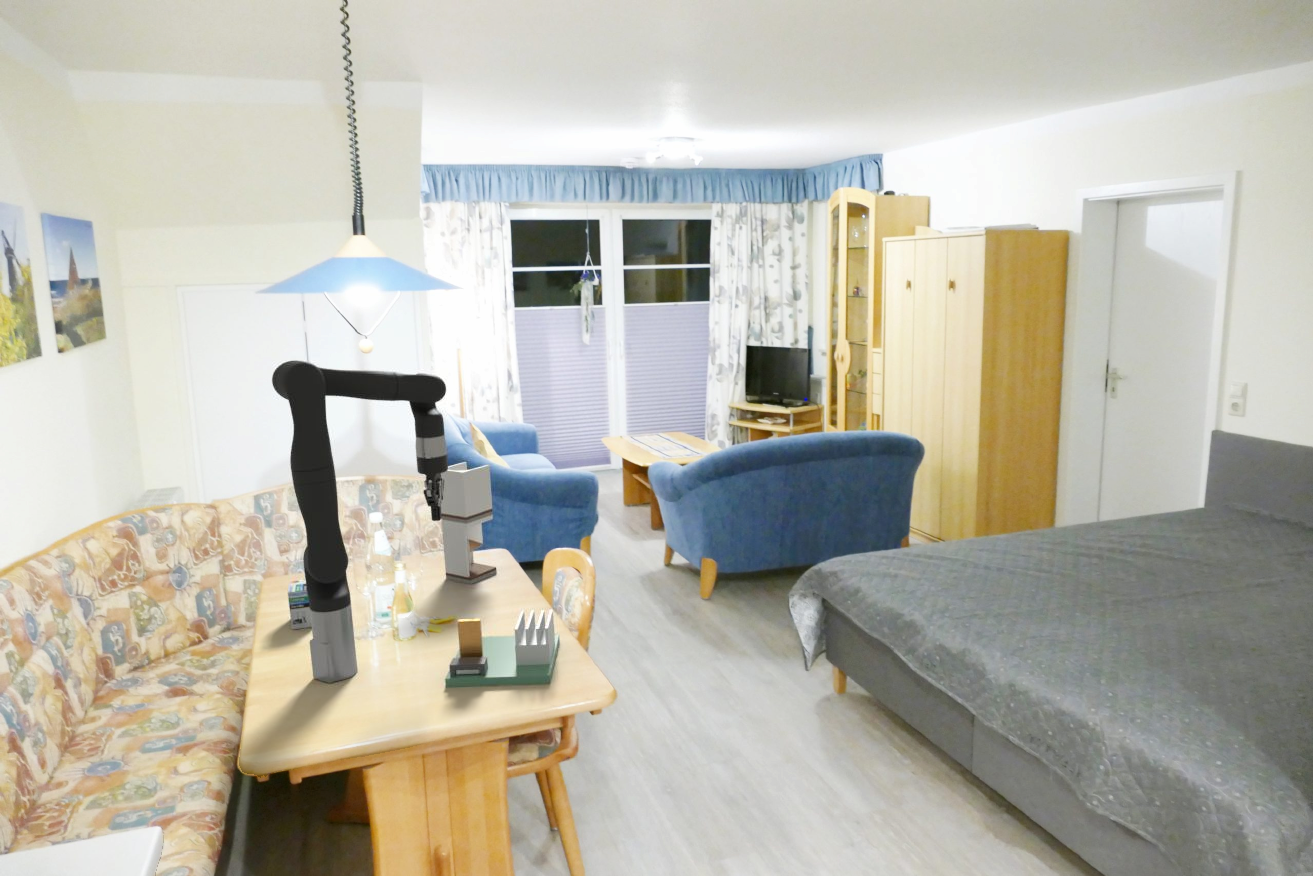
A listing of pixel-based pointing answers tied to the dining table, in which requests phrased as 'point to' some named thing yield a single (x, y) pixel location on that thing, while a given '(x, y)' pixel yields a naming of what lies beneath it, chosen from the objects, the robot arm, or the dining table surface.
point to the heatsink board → (511, 656)
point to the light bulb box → (299, 604)
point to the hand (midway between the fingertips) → (436, 520)
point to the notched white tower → (465, 521)
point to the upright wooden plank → (470, 641)
